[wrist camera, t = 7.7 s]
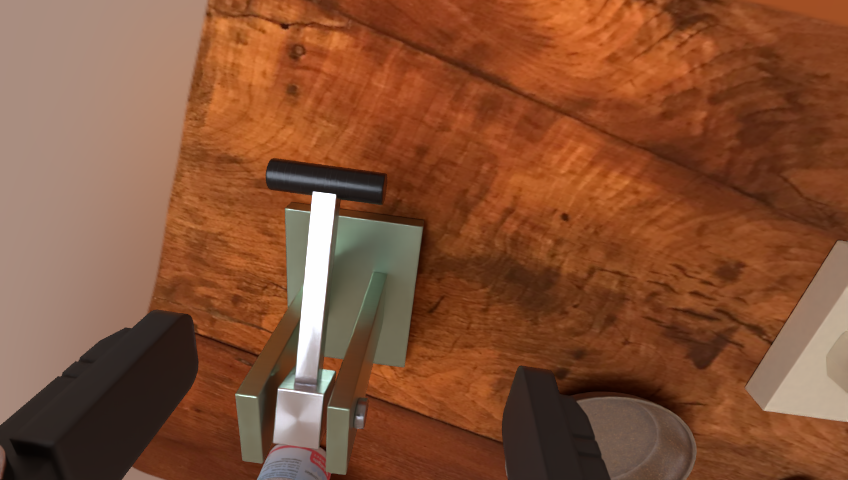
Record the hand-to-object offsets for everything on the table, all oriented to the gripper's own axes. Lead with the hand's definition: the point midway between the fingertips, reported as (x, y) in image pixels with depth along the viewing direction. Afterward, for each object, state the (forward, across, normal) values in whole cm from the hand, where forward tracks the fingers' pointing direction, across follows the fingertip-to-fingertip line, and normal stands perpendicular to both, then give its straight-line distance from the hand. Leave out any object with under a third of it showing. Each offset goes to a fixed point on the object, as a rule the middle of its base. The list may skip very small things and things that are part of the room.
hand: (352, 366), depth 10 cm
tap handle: (+9, +3, +5) cm, 11 cm away
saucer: (+18, -18, +21) cm, 33 cm away
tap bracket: (+18, +3, +10) cm, 20 cm away
